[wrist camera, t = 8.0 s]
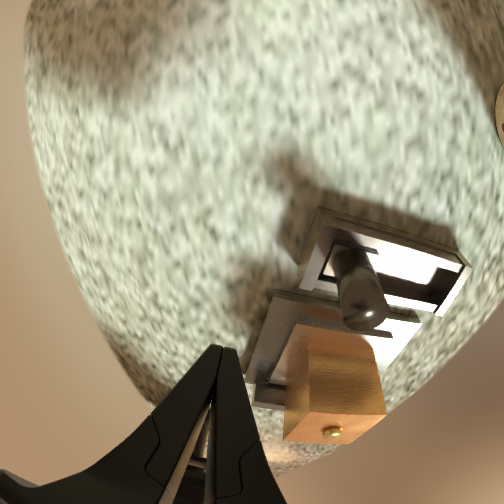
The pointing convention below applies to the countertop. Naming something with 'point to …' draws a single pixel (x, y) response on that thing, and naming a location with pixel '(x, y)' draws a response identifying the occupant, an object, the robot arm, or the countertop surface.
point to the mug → (500, 114)
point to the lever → (357, 284)
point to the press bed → (317, 328)
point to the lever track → (387, 262)
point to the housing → (332, 394)
